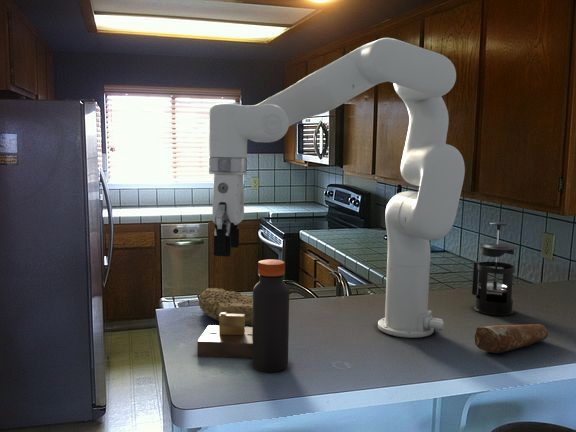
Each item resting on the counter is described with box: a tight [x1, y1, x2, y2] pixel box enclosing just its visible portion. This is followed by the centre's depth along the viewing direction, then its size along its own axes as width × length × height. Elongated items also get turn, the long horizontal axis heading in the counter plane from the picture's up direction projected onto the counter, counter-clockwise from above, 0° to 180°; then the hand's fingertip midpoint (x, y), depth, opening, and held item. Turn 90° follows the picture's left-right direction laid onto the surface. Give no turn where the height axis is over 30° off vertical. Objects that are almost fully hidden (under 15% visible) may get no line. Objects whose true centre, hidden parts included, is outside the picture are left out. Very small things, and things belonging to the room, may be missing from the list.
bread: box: [474, 323, 549, 354], centre depth 117 cm, size 6×19×6 cm, turn 119°
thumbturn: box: [218, 312, 246, 335], centre depth 114 cm, size 5×2×4 cm, turn 86°
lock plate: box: [197, 324, 253, 359], centre depth 114 cm, size 12×10×3 cm
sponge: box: [198, 287, 253, 326], centre depth 132 cm, size 13×8×20 cm
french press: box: [471, 221, 517, 317], centre depth 143 cm, size 12×9×23 cm
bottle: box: [251, 258, 290, 373], centre depth 105 cm, size 7×7×20 cm
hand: (226, 251), depth 114 cm, fingers open, 9 cm apart
